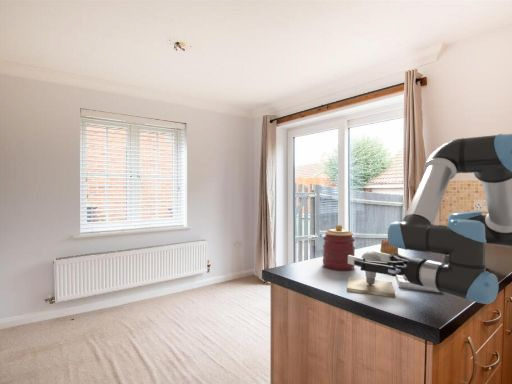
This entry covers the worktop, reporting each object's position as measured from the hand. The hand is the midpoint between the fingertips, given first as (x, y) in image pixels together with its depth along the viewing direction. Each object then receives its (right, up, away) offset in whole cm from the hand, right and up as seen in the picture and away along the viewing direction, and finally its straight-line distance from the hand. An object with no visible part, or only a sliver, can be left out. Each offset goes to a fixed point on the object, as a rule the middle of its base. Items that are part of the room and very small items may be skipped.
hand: (361, 256), depth 99 cm
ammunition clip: (+21, -10, +24) cm, 33 cm away
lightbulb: (+2, -9, -3) cm, 9 cm away
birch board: (+2, -10, -3) cm, 10 cm away
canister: (-1, -9, +23) cm, 25 cm away
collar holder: (+19, -10, +1) cm, 22 cm away
